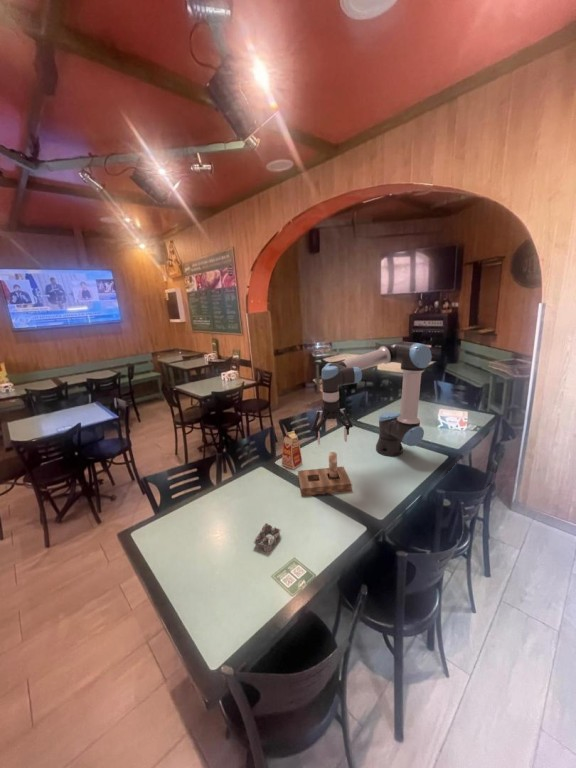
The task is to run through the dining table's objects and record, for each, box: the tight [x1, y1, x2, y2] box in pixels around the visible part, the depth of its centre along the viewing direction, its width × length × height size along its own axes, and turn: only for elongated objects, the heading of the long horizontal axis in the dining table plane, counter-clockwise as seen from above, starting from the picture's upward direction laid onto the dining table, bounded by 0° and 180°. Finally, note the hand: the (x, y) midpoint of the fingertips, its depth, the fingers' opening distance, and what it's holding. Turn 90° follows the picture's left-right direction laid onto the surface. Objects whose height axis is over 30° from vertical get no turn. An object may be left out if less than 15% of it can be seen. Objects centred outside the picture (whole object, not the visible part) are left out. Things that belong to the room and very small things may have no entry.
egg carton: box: [253, 522, 282, 553], centre depth 120 cm, size 11×8×4 cm
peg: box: [328, 451, 338, 480], centre depth 153 cm, size 4×4×16 cm
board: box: [297, 466, 353, 497], centre depth 155 cm, size 24×16×4 cm, turn 94°
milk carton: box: [281, 430, 303, 470], centre depth 174 cm, size 9×9×20 cm
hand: (332, 442), depth 150 cm, fingers open, 12 cm apart
